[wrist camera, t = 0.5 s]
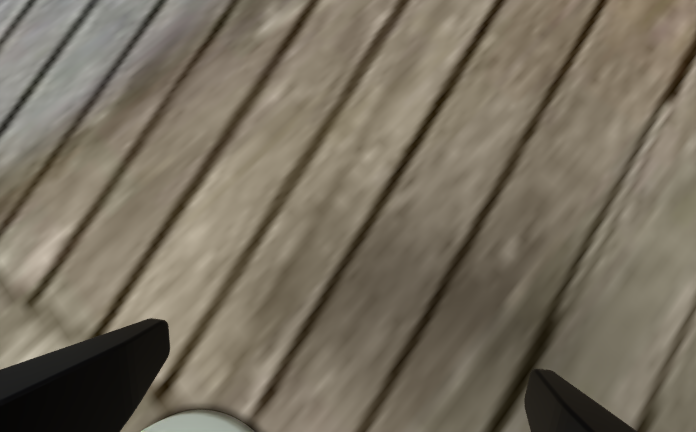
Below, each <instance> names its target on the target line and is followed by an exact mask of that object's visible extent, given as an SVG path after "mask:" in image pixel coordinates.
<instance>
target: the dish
mask: <svg viewBox="0 0 696 432" xmlns="http://www.w3.org/2000/svg"><path fill="white" fill-rule="evenodd" d="M141 432H255V431H254V430H252V429H251V428H250V427H249V426H247V425H246V424H245V423H243V422H241V421H240V420H238V419H236V418H235V417H232V416H230V415H227V414H225V413H221V412H217V411H213V410H201V409H200V410H188V411H184V412H180V413H176V414H174V415H171V416H169V417H166V418H164V419H162V420H160V421H158V422H156V423H154V424H153V425H151V426H149V427H147V428H146V429H144V430H142V431H141Z"/></svg>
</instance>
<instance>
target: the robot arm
mask: <svg viewBox="0 0 696 432" xmlns="http://www.w3.org/2000/svg"><path fill="white" fill-rule="evenodd" d="M169 352H170V341H169V328H168V323H167V322H166V321H165V320H160V319H152V318H151V319H147V320H144V321H141V322H138V323H135V324H132V325H129V326H126V327H123V328H121V329H118V330H115V331H112V332H109V333H106V334H103V335H100V336H97V337H94V338H91V339H89V340H86V341H83V342H80V343H77V344H74V345H71V346H68V347H65V348H62V349H59V350H57V351H54V352H51V353H48V354H45V355H42V356H39V357H36V358H33V359H30V360H27V361H25V362H22V363H19V364H16V365H13V366H10V367H7V368H4V369H1V370H0V432H120V431H121V429H122V428H123V426H124V425H125V424H126V422H127V421H128V420H129V418H130V417H131V415H132V414H133V413H134V411H135V410H136V408H137V407H138V405H139V403H140V402H141V400H142V399H143V397H144V395H145V394H146V392H147V390H148V389H149V387H150V386H151V384H152V382H153V381H154V379H155V377H156V376H157V374H158V373H159V371H160V369H161V368H162V366H163V364H164V363H165V361H166V359H167V358H168V355H169ZM524 402H525V410H526V414H527V418H528V422H529V426H530V430H531V432H637V431H636V430H634V429H633V428H632V427H630V426H629V425H627V424H626V423H625V422H623V421H622V420H620V419H619V418H618V417H616V416H615V415H613V414H612V413H611V412H609V411H608V410H606V409H605V408H604V407H602V406H601V405H599V404H598V403H597V402H595V401H594V400H592V399H591V398H590V397H588V396H587V395H585V394H584V393H583V392H581V391H580V390H578V389H577V388H576V387H574V386H573V385H571V384H570V383H569V382H567V381H566V380H564V379H563V378H562V377H560V376H559V375H557V374H556V373H555V372H553V371H550V370H543V369H533V370H532V371H531V373H530V377H529V381H528V386H527V390H526V394H525V401H524Z"/></svg>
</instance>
